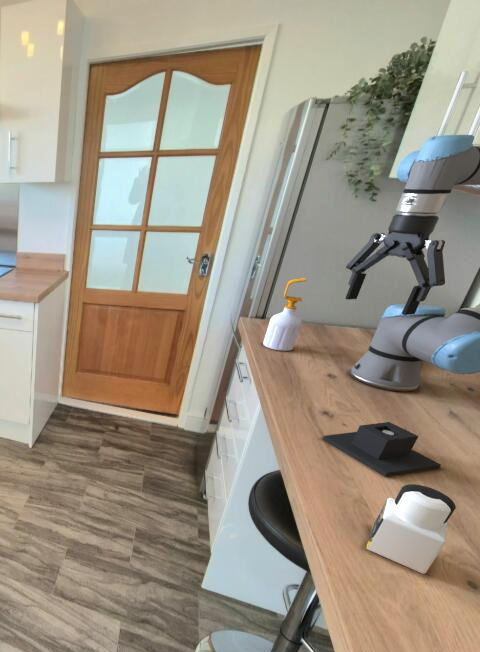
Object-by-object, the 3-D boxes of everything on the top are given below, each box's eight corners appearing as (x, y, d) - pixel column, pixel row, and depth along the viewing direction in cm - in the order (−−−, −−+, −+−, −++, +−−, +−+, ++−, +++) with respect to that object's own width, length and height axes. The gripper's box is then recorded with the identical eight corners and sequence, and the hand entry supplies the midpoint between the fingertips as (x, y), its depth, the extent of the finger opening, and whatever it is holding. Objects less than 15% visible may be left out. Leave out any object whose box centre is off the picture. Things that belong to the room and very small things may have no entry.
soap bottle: (293, 353, 148) (318, 282, 137) (262, 348, 152) (284, 279, 142) (292, 345, 155) (315, 277, 144) (262, 340, 159) (283, 274, 148)
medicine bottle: (371, 527, 76) (401, 473, 70) (427, 550, 71) (464, 494, 66) (365, 549, 71) (396, 493, 66) (424, 575, 67) (463, 517, 61)
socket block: (379, 440, 98) (389, 421, 96) (408, 455, 93) (418, 436, 91) (350, 444, 97) (359, 425, 95) (378, 459, 92) (388, 440, 90)
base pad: (371, 433, 103) (381, 413, 100) (439, 468, 90) (451, 446, 88) (322, 439, 101) (331, 419, 98) (384, 476, 88) (396, 454, 86)
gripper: (349, 210, 107) (318, 294, 116) (471, 219, 85) (422, 322, 94) (373, 209, 108) (342, 292, 117) (501, 218, 86) (449, 320, 95)
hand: (377, 306), depth 106 cm, fingers open, 13 cm apart
